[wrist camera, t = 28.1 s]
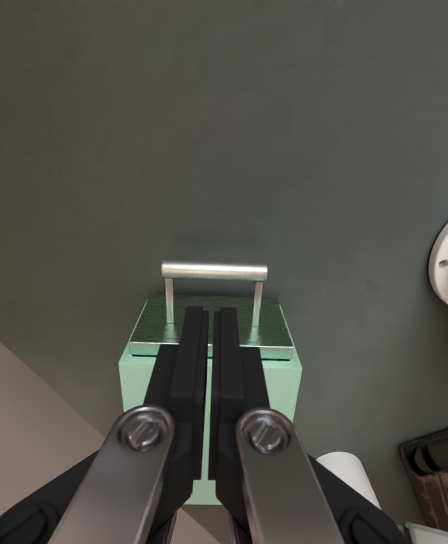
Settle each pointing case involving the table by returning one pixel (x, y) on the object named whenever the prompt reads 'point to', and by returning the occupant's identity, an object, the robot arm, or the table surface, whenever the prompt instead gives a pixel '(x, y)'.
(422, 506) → the diary
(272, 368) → the fridge
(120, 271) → the table surface
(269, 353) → the fridge drawer
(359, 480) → the cylindrical container
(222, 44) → the table surface
